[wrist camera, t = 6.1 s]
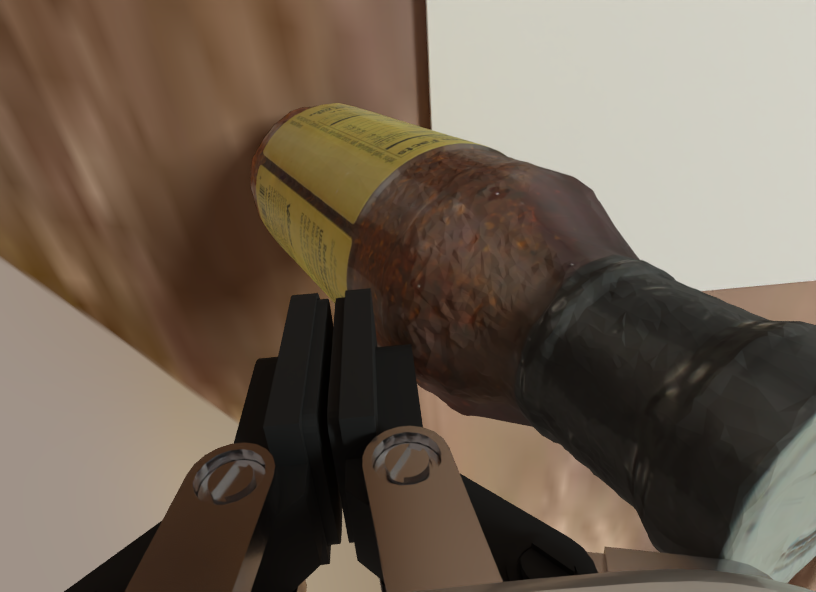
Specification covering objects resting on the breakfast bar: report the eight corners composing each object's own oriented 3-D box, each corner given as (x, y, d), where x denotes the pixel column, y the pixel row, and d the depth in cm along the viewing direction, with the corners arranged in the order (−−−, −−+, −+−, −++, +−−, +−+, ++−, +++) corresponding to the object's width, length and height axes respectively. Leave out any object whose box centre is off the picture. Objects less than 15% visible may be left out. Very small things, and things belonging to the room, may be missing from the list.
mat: (819, 274, 29) (826, 279, 29) (438, 309, 28) (439, 315, 28) (952, -100, 21) (964, -102, 20) (422, -64, 20) (424, -64, 20)
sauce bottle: (351, 261, 26) (764, 668, 10) (219, 218, 22) (549, 750, 6) (412, 128, 24) (1002, 364, 9) (282, 58, 21) (901, 249, 5)
